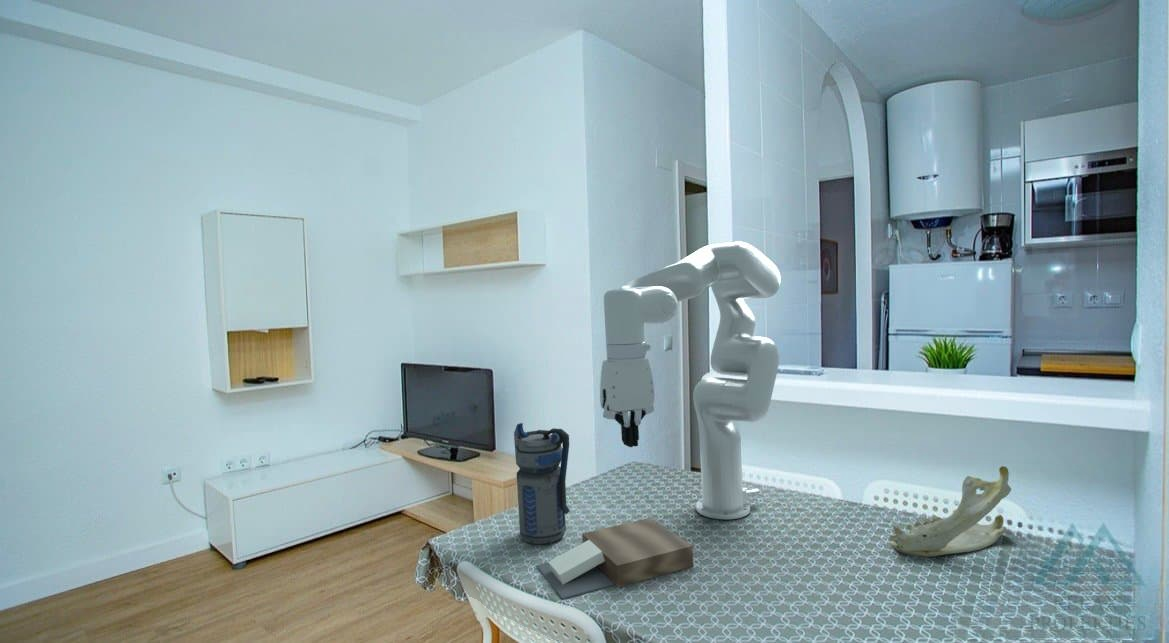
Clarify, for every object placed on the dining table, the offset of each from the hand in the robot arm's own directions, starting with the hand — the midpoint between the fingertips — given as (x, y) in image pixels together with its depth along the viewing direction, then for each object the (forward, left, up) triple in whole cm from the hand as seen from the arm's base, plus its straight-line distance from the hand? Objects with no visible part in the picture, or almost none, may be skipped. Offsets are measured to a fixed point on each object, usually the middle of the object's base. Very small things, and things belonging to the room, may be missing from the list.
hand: (630, 445), depth 113 cm
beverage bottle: (+12, -19, -23) cm, 32 cm away
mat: (+13, 0, -23) cm, 26 cm away
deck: (0, 0, -23) cm, 23 cm away
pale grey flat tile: (+12, 0, -21) cm, 25 cm away
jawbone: (-56, +25, -23) cm, 66 cm away
